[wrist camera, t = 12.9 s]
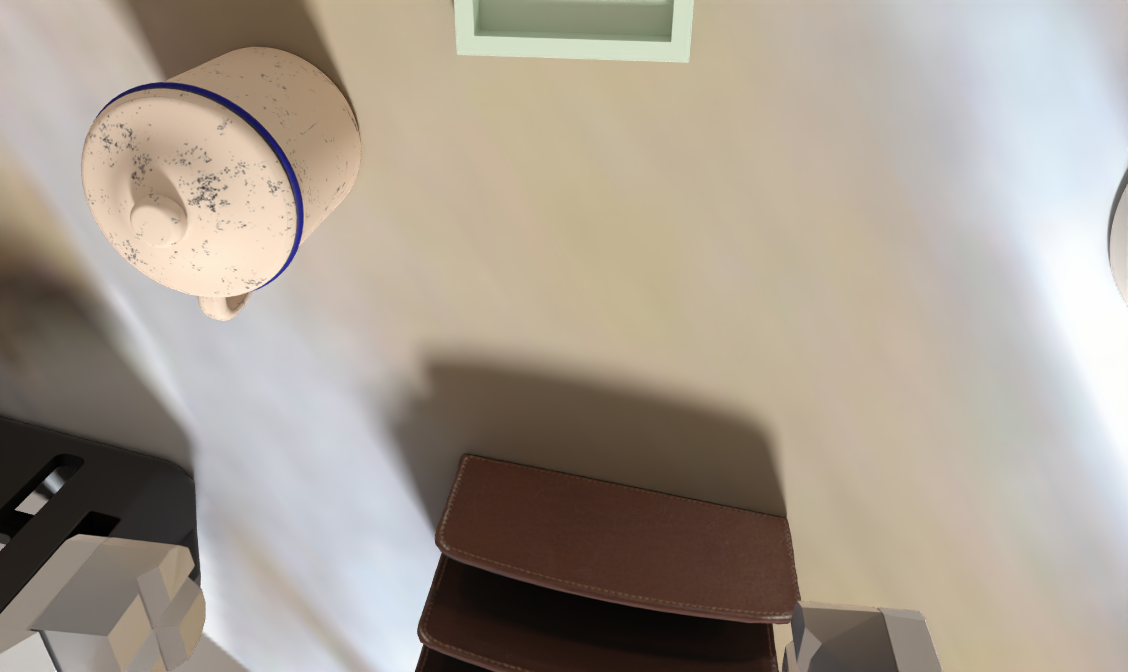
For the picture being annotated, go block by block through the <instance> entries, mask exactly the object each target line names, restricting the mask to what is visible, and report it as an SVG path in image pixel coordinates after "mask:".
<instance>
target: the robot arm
mask: <svg viewBox="0 0 1128 672" xmlns="http://www.w3.org/2000/svg"><path fill="white" fill-rule="evenodd" d="M1110 263H1111V269H1112V274H1113V278H1114V281H1115V284H1116V287H1117V289H1118V291H1119V293H1120V295H1121V297H1122V299H1123V300H1124V302H1125V303H1126V305H1127V306H1128V184H1127V186H1126V188H1125V190H1124V192H1123V194H1122V197H1121V199H1120V202H1119V204H1118V207H1117V210H1116V213H1115V216H1114V220H1113V225H1112V230H1111V237H1110ZM194 566H195V565H194V562H193V559H192V556H191V554H190V551H189V548H187V547H183V546H180V545H172V544H164V543H155V542H147V541H139V540H130V539H122V538H109V537H100V536H91V535H82V534H78V535H76V536H74V537H72V538H70V539H68V540H66V541H65V542H64V543H63V544H62V545H61V546H60V548H59V549H58V550H57V551H56V552H55V553H54V554H53V555H52V557H51V558H50V559H49V560H48V561H47V562H46V563H45V564H44V566H43V567H42V568H41V569H40V570H39V571H38V572H37V573H36V575H35V576H34V577H33V578H32V579H31V580H30V581H29V582H28V584H27V585H26V586H25V587H24V588H23V589H22V590H21V591H20V593H19V594H18V595H17V596H16V597H15V598H14V599H13V600H12V602H11V603H10V604H9V605H8V606H7V607H6V608H5V609H4V611H3V612H2V613H1V614H0V672H170V671H172V670H173V669H175V668H176V667H178V666H179V665H181V664H182V663H184V662H185V661H187V660H188V659H189V658H190V656H191V654H192V653H193V651H194V649H195V647H196V646H197V644H198V642H199V640H200V636H201V633H202V629H203V626H204V622H205V599H204V596H203V592H202V589H201V588H200V587H199V586H198V585H196V584H195V583H194V582H193V581H192V580H191V579H190V578H189V577H188V575H189V574H190V572H191V571H192V569H193V568H194ZM791 627H792V634H793V641H791V642H790V643H789V644H787V645H786V647H785V653H784V659H783V665H782V672H943V670H942V667H941V664H940V661H939V658H938V655H937V652H936V649H935V646H934V643H933V640H932V637H931V634H930V631H929V628H928V625H927V622H926V619H925V617H924V616H923V615H922V614H921V613H920V611H912V610H901V609H889V608H877V609H876V608H875V607H868V606H855V605H843V604H830V603H818V602H805V601H797V602H796V604H795V606H794V609H793V613H792V618H791Z"/></svg>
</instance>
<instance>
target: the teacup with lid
mask: <svg viewBox="0 0 1128 672" xmlns="http://www.w3.org/2000/svg"><path fill="white" fill-rule="evenodd" d="M360 161H361V142H360V135H359V131H358V127H357V123H356V120H355V117H354V115H353V113H352V110H351V108H350V106H349V105H348V103H347V101H346V99H345V98H344V96H343V95H342V93H341V92H340V91H339V89H338V88H337V87H336V85H335V84H334V83H333V82H332V81H331V80H330V79H329V78H328V77H327V76H326V75H325V74H324V73H323V72H321V71H320V70H319V69H318V68H316V67H315V66H314V65H312V64H310V63H309V62H307V61H306V60H304V59H302V58H300V57H298V56H296V55H294V54H291V53H289V52H286V51H282V50H279V49H274V48H268V47H247V48H241V49H237V50H233V51H231V52H228V53H226V54H223V55H221V56H219V57H217V58H215V59H212V60H210V61H208V62H206V63H203V64H201V65H199V66H197V67H195V68H192V69H190V70H188V71H186V72H184V73H181V74H179V75H177V76H175V77H173V78H170V79H168V80H166V81H164V82H159V83H150V84H145V85H141V86H137V87H135V88H132V89H129V90H127V91H125V92H123V93H121V94H120V95H118V96H117V97H115V98H114V99H112V100H111V101H110V102H109V103H108V104H107V105H106V106H105V107H104V108H103V109H102V110H101V111H100V113H99V114H98V116H97V117H96V119H95V120H94V122H93V124H92V126H91V127H90V129H89V132H88V134H87V136H86V139H85V143H84V147H83V152H82V162H81V173H82V182H83V188H84V192H85V196H86V199H87V202H88V205H89V208H90V210H91V213H92V215H93V217H94V219H95V221H96V223H97V224H98V226H99V228H100V229H101V231H102V232H103V234H104V235H105V237H106V238H107V239H108V241H109V242H110V243H111V244H112V246H113V247H114V248H115V249H116V250H117V251H118V252H119V253H120V254H121V255H122V256H123V257H124V258H125V259H126V260H127V261H128V262H129V263H130V264H131V265H133V266H134V267H135V268H136V269H138V270H139V271H140V272H142V273H143V274H145V275H146V276H148V277H149V278H151V279H153V280H155V281H156V282H158V283H160V284H162V285H164V286H167V287H169V288H171V289H174V290H177V291H180V292H183V293H187V294H191V295H196V296H198V301H199V305H200V308H201V310H202V311H203V313H204V314H205V315H207V316H208V317H210V318H213V319H217V320H221V321H227V320H230V319H232V318H233V317H235V316H236V315H237V314H238V313H239V312H240V311H241V310H242V308H243V307H244V306H245V304H246V303H247V301H248V299H249V298H250V296H251V294H252V292H253V291H254V290H257V289H260V288H262V287H263V286H265V285H267V284H269V283H270V282H272V281H273V280H275V279H276V278H277V277H278V276H279V275H280V274H281V273H282V272H283V271H284V270H285V269H286V268H287V267H288V265H289V264H290V262H291V261H292V259H293V258H294V256H295V254H296V252H297V250H298V247H299V246H300V245H301V244H302V243H303V242H304V241H305V240H306V238H307V237H308V236H309V235H310V234H311V233H312V232H313V231H314V230H315V229H316V228H317V227H318V226H319V225H320V224H321V223H322V222H323V221H324V219H325V218H326V217H327V216H328V215H329V214H330V213H331V212H332V211H333V210H334V209H335V208H336V207H337V206H338V205H339V204H340V203H341V202H342V200H343V199H344V198H345V197H346V196H347V194H348V193H349V191H350V190H351V188H352V186H353V184H354V182H355V180H356V177H357V175H358V171H359V167H360Z"/></svg>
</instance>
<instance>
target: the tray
mask: <svg viewBox="0 0 1128 672" xmlns="http://www.w3.org/2000/svg"><path fill="white" fill-rule="evenodd" d="M693 5H694V0H454V10H455V28H456V47H457V55H482V56H512V57H541V58H571V59H601V60H630V61H660V62H689V55H690V42H691V30H692V18H693Z"/></svg>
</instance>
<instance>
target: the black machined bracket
mask: <svg viewBox="0 0 1128 672" xmlns="http://www.w3.org/2000/svg"><path fill="white" fill-rule="evenodd" d="M61 466H71V467H75V468H79V470H78V471H77V472H76V473H75V474H74V475H73V476H72V477H71V478H70V479H69V480H68V481H67V482H66V483H65V484H64V485H63V486H62V487H61V488H60V489H59V491H58V492H57V493H56V494H55V495H54V496H53V497H52V498H51V499H50V500H49V501H48V502H47V503H46V504H45V505H44V506H43V507H42V508H41V509H40V510H39V511H38V512H37V513H36V514H35V515H32V514H28V513H24V512H20V511H16V510H15V509H16V508H17V507H18V506H19V505H20V504H21V503H22V502H23V501H24V500H25V498H27V496H29V495H30V494H31V493H32V492H33V491H34V490H35V489H36V488H37V487H38V486H39V485H40V484H41V483H42V482H43V481H44V480H45V479H46V478H47V477H48V476H49V475H50V474H51V473H52V472H53V471H54V470H55V469H56V468H58V467H61ZM78 534H82V535H91V536H100V537H109V538H122V539H130V540H139V541H147V542H155V543H164V544H172V545H180V546H183V547H187V548H189V551H190V554H191V556H192V559H193V562H194V565H195V566H194V568H193V569H192V571H191V572H190V574H189V575H188V577H189V578H190V579H191V580H192V581H193V582H194V583H195V584H196V585H198V586H199V587H200V582H201V572H200V561H199V549H198V537H197V522H196V497H195V483H194V481H193V480H192V479H191V478H190V477H189V476H188V475H187V474H186V473H184V472H183V471H182V470H181V469H179V468H178V467H176V466H175V465H174V464H172V463H170V462H168V461H165V460H161V459H157V458H153V457H149V456H146V455H142V454H138V453H134V452H131V451H127V450H123V449H119V448H115V447H112V446H108V445H104V444H100V443H96V442H93V441H89V440H85V439H81V438H77V437H74V436H70V435H66V434H62V433H58V432H55V431H51V430H47V429H43V428H40V427H36V426H32V425H28V424H24V423H21V422H17V421H13V420H9V419H5V418H2V417H0V543H2V544H6V546H5V547H4V548H3V549H2V550H1V551H0V614H1V613H2V612H3V611H4V609H5V608H6V607H7V606H8V605H9V604H10V603H11V602H12V600H13V599H14V598H15V597H16V596H17V595H18V594H19V593H20V591H21V590H22V589H23V588H24V587H25V586H26V585H27V584H28V582H29V581H30V580H31V579H32V578H33V577H34V576H35V575H36V573H37V572H38V571H39V570H40V569H41V568H42V567H43V566H44V564H45V563H46V562H47V561H48V560H49V559H50V558H51V557H52V555H53V554H54V553H55V552H56V551H57V550H58V549H59V548H60V546H61V545H62V544H63V543H64V542H65V541H66V540H68V539H70V538H72V537H74V536H76V535H78Z"/></svg>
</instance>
